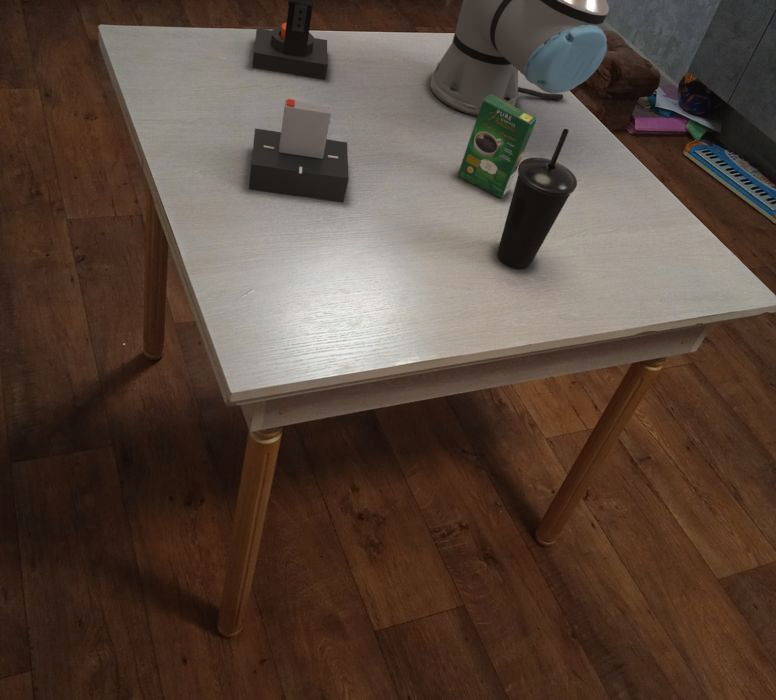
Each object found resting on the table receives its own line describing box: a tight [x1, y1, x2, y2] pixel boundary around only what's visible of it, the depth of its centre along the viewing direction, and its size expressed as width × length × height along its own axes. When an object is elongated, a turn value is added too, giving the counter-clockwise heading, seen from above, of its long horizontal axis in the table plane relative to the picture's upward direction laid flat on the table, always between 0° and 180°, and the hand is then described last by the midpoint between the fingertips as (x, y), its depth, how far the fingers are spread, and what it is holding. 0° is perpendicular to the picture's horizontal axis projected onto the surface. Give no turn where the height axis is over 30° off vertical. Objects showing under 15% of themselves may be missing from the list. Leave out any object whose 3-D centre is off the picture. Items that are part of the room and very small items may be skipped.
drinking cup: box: [496, 128, 578, 270], centre depth 106 cm, size 8×8×20 cm
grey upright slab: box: [279, 98, 332, 159], centre depth 111 cm, size 6×2×7 cm, turn 93°
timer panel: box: [248, 127, 350, 203], centre depth 114 cm, size 13×10×4 cm
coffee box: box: [457, 94, 538, 199], centre depth 120 cm, size 8×3×13 cm, turn 58°
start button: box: [281, 21, 287, 39], centre depth 136 cm, size 4×4×2 cm
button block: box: [251, 25, 329, 80], centre depth 138 cm, size 12×9×4 cm
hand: (296, 29), depth 104 cm, fingers open, 13 cm apart
